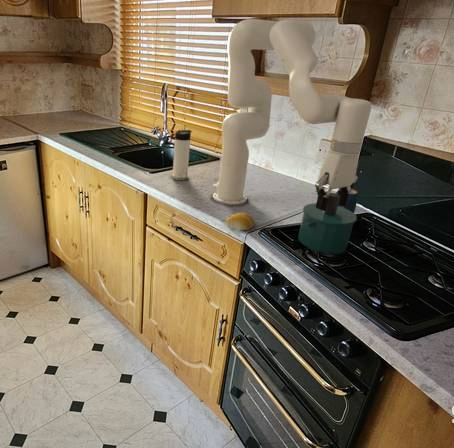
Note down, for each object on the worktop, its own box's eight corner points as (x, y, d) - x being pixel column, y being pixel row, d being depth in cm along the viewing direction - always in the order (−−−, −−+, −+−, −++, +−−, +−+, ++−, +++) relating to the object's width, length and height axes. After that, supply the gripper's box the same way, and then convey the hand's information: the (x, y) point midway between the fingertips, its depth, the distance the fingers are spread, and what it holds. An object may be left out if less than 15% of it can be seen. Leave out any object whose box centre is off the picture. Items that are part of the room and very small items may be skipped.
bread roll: (257, 224, 131) (258, 213, 129) (245, 234, 124) (247, 222, 123) (234, 217, 135) (235, 206, 133) (221, 226, 128) (222, 214, 127)
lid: (291, 211, 119) (296, 190, 116) (324, 203, 126) (329, 183, 123) (332, 231, 108) (338, 208, 105) (366, 221, 115) (373, 199, 112)
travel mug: (190, 179, 169) (194, 132, 160) (175, 180, 167) (179, 132, 158) (184, 175, 174) (188, 128, 165) (170, 176, 172) (173, 129, 163)
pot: (282, 240, 122) (287, 211, 118) (324, 228, 131) (331, 201, 127) (318, 260, 111) (326, 229, 107) (361, 246, 120) (370, 217, 116)
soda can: (344, 220, 138) (353, 187, 132) (354, 229, 131) (363, 194, 126) (324, 219, 137) (332, 186, 132) (333, 228, 131) (342, 194, 126)
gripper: (353, 141, 115) (339, 198, 123) (312, 146, 107) (299, 207, 115) (377, 147, 110) (361, 206, 117) (335, 153, 101) (320, 217, 109)
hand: (330, 206), depth 116 cm, fingers open, 7 cm apart
